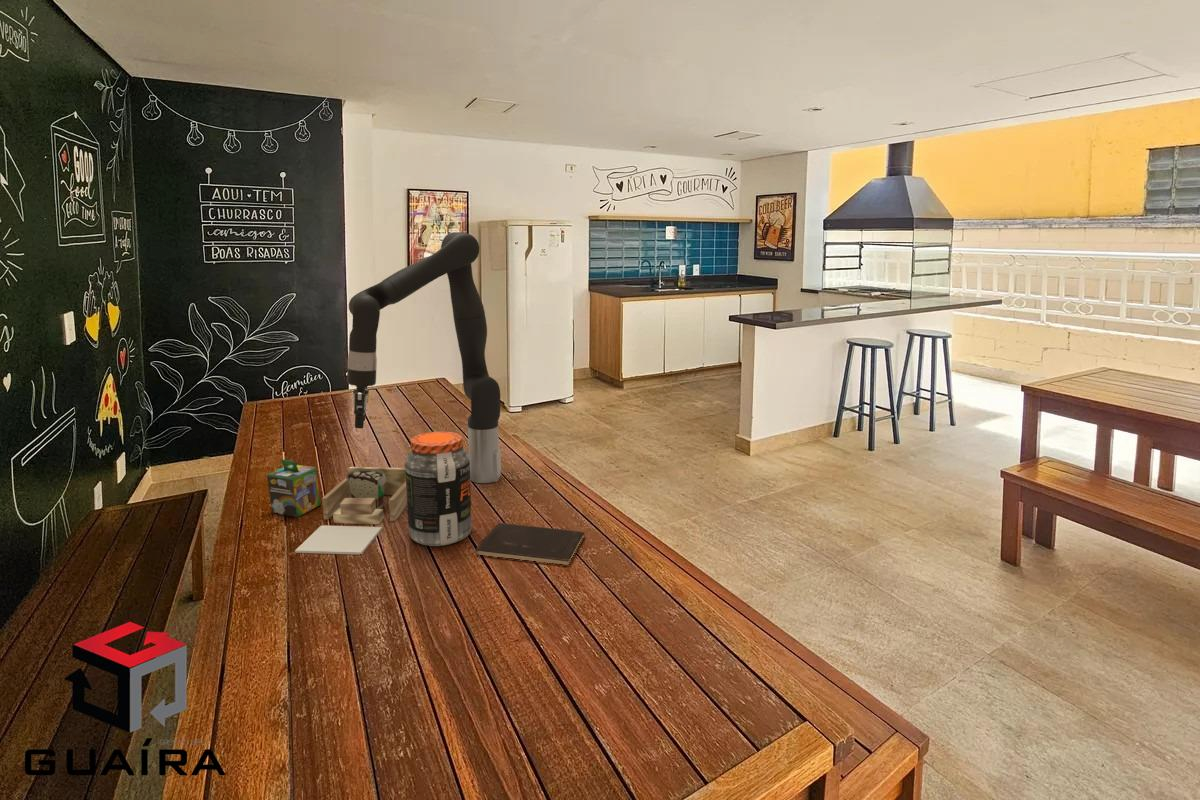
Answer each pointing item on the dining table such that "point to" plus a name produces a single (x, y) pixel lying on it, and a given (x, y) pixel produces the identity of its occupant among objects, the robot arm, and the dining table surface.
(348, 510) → the offcut upper
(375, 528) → the mat
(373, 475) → the food container
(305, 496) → the chalk box
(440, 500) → the supplement tub
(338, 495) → the frame
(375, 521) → the offcut lower
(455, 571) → the dining table surface
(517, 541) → the hardcover book
